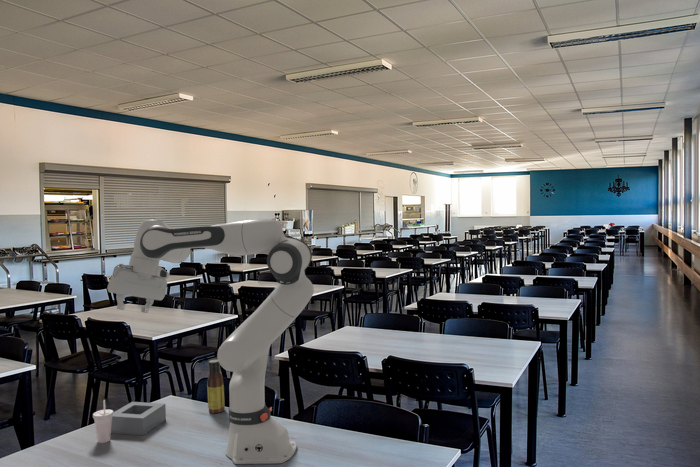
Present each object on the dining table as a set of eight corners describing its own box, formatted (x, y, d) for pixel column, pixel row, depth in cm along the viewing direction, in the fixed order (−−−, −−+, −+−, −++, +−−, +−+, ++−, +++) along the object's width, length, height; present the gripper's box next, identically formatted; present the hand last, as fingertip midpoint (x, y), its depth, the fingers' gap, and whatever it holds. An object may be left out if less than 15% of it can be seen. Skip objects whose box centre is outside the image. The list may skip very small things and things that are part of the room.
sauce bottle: (217, 406, 202) (216, 357, 202) (228, 409, 199) (226, 359, 198) (204, 411, 197) (202, 361, 197) (214, 415, 194) (213, 363, 193)
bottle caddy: (165, 419, 190) (165, 403, 190) (143, 435, 177) (143, 418, 176) (132, 417, 193) (132, 401, 193) (108, 432, 179) (107, 415, 179)
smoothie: (106, 445, 169) (104, 404, 169) (89, 444, 170) (87, 402, 170) (118, 437, 175) (117, 397, 175) (102, 436, 177) (100, 396, 176)
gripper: (122, 263, 154) (111, 308, 151) (172, 274, 171) (163, 315, 169) (109, 261, 157) (97, 306, 154) (159, 272, 174) (150, 312, 172)
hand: (132, 311), depth 162 cm, fingers open, 8 cm apart
